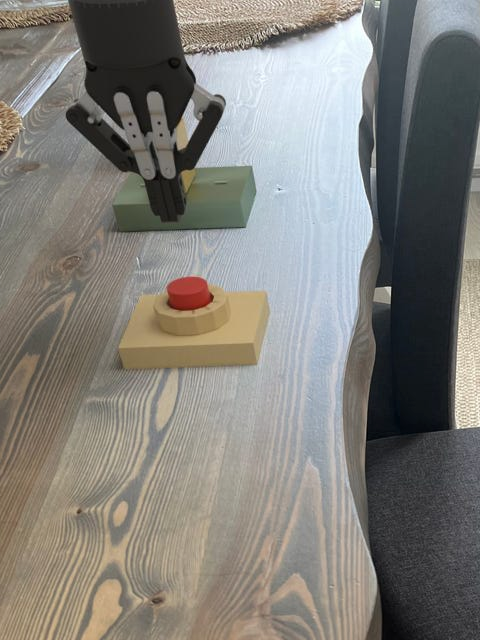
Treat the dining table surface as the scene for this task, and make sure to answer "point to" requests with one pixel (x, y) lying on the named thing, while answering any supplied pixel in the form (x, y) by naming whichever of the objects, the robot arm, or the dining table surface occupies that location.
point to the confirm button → (188, 293)
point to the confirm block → (196, 331)
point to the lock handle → (182, 143)
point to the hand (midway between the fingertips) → (172, 218)
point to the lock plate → (192, 201)
